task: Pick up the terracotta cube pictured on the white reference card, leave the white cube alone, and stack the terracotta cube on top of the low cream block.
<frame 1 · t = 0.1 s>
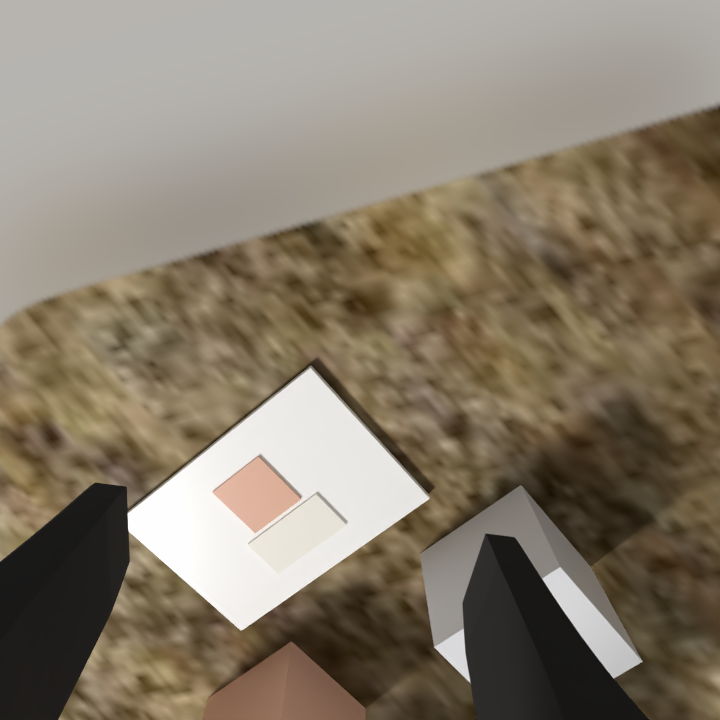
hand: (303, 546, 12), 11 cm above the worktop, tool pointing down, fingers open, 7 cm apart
terracotta cube: (287, 701, 28), on the worktop
reference card: (273, 505, 24), on the worktop
white cube: (505, 559, 25), on the worktop
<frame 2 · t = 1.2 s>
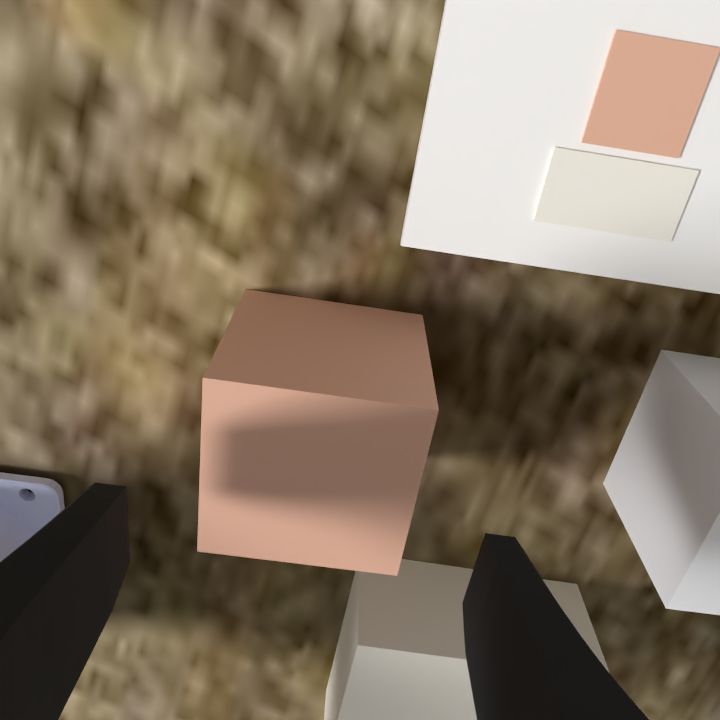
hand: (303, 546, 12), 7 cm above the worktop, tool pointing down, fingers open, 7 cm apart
terracotta cube: (324, 377, 19), on the worktop
reference card: (628, 134, 15), on the worktop
white cube: (707, 430, 19), on the worktop
cream base block: (442, 634, 24), on the worktop
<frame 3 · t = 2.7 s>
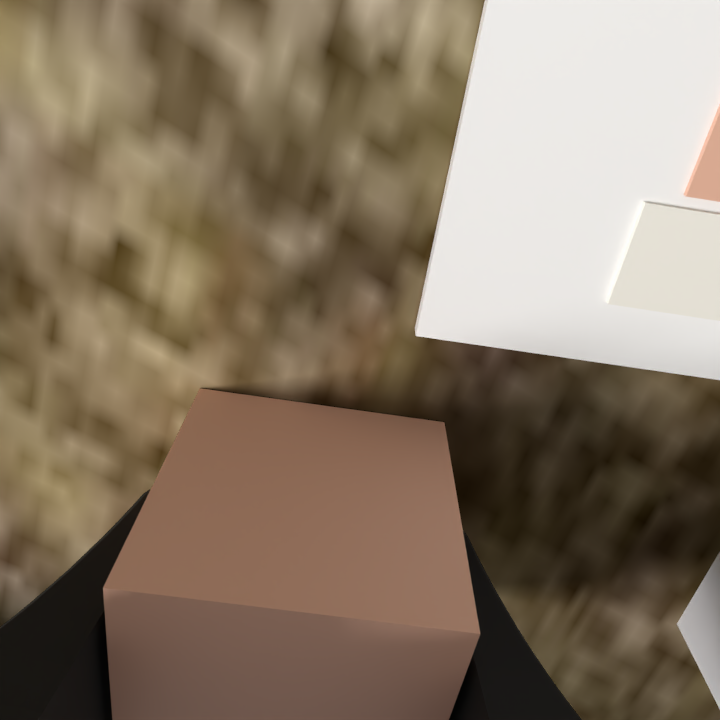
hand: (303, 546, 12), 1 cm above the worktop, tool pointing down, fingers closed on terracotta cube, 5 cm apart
terracotta cube: (309, 499, 14), on the worktop, touching gripper
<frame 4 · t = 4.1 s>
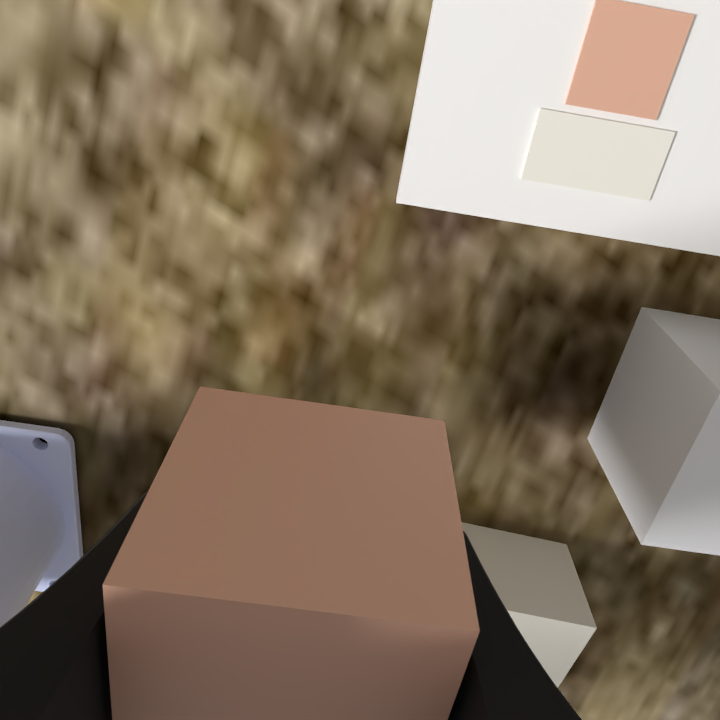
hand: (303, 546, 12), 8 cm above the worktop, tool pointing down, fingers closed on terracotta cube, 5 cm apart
terracotta cube: (309, 497, 14), point 7 cm above the worktop, touching gripper
reference card: (610, 98, 16), on the worktop
white cube: (685, 386, 20), on the worktop
cream base block: (434, 589, 25), on the worktop
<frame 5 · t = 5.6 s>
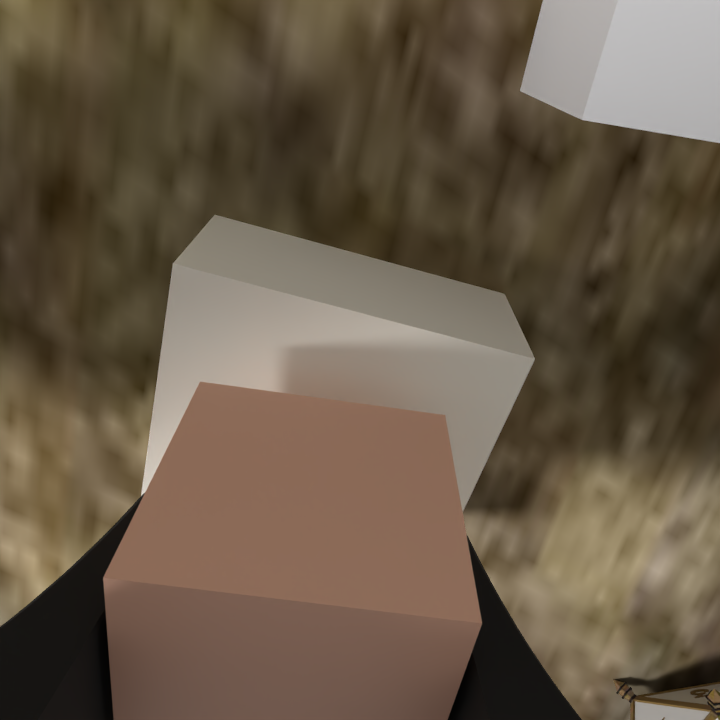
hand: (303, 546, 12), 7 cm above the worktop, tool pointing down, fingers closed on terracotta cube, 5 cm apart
terracotta cube: (310, 493, 14), point 5 cm above the worktop, touching gripper
cream base block: (327, 375, 19), on the worktop
game die: (683, 685, 25), on the worktop
when the fingers open (7 cm above the worktop, at t = 6.1 s): terracotta cube drops 1 cm, point 4 cm above the worktop.
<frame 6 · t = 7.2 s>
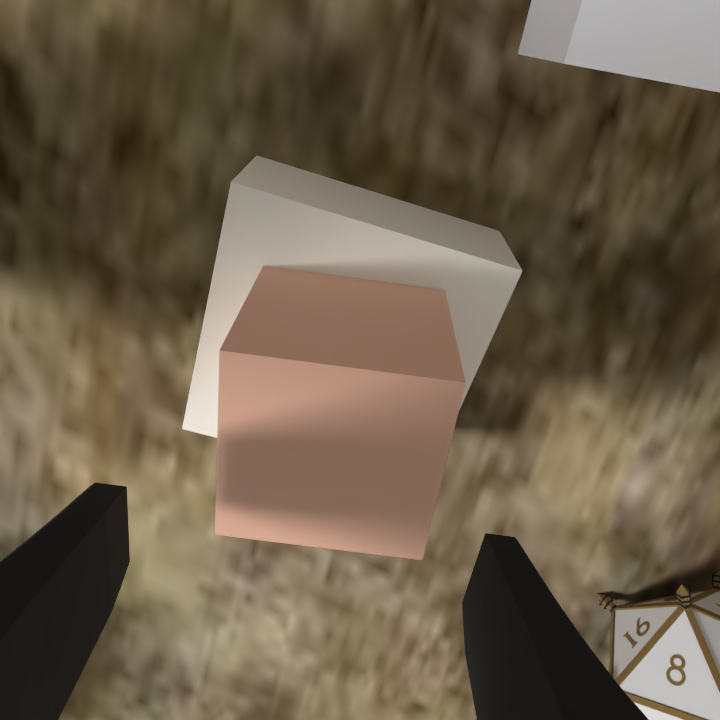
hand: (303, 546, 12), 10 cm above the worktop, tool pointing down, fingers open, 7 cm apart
terracotta cube: (343, 358, 18), point 4 cm above the worktop
cream base block: (346, 302, 22), on the worktop
game die: (659, 600, 28), on the worktop
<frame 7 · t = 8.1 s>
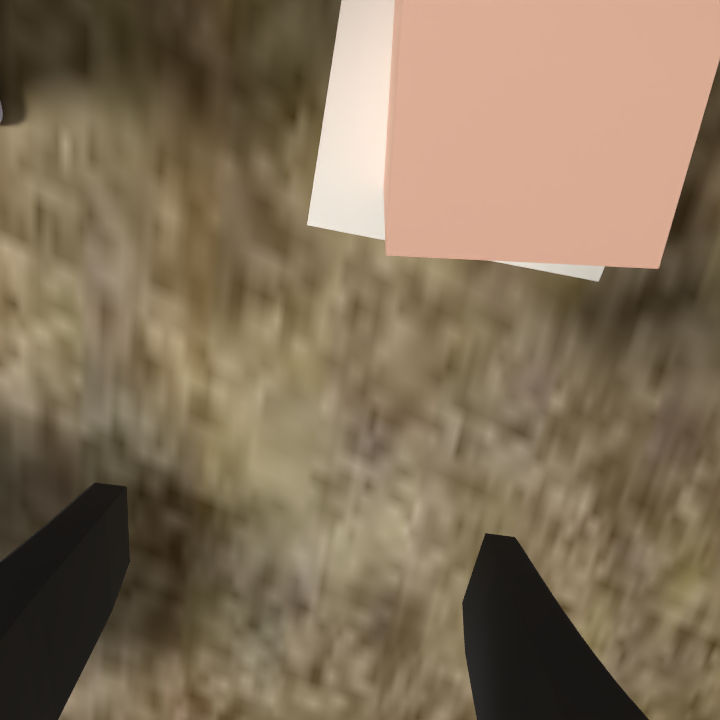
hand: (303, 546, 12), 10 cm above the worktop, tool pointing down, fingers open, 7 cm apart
terracotta cube: (496, 87, 14), point 4 cm above the worktop
cream base block: (475, 80, 18), on the worktop
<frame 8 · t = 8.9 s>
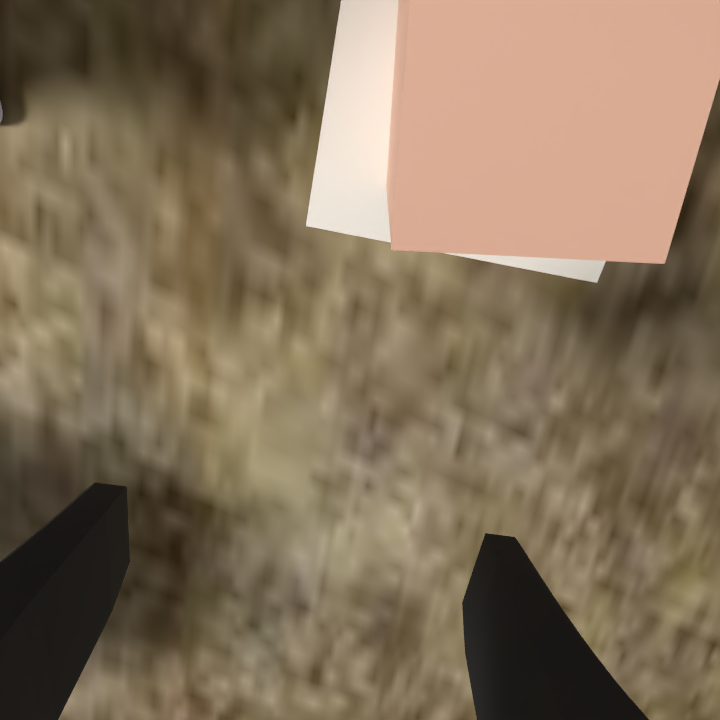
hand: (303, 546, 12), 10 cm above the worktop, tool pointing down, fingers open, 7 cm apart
terracotta cube: (499, 83, 14), point 4 cm above the worktop, touching cream base block
cream base block: (474, 81, 18), on the worktop, touching terracotta cube
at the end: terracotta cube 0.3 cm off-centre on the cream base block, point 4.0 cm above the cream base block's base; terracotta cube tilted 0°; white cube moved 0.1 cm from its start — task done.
